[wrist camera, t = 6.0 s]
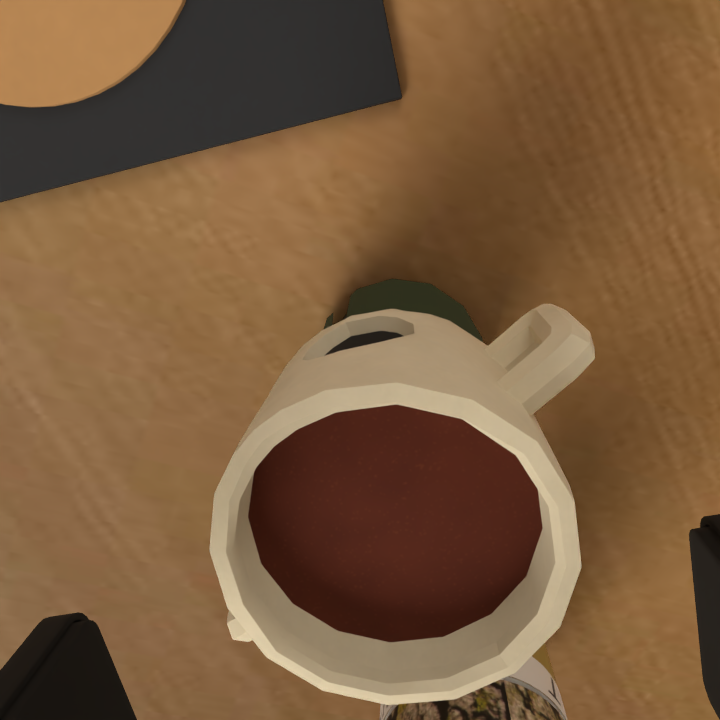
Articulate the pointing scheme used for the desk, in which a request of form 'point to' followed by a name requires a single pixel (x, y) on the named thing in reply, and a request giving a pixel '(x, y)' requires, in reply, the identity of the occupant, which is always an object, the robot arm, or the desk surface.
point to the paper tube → (495, 698)
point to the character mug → (404, 501)
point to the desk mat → (174, 78)
